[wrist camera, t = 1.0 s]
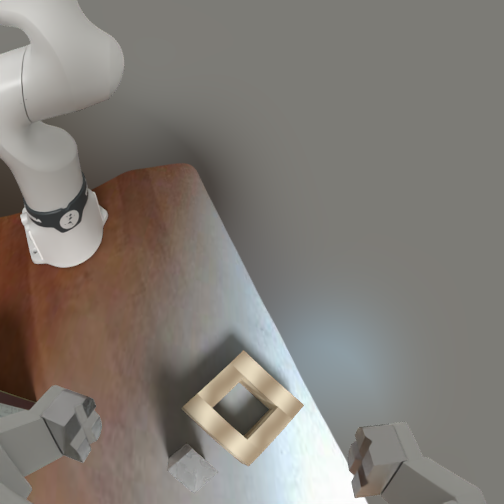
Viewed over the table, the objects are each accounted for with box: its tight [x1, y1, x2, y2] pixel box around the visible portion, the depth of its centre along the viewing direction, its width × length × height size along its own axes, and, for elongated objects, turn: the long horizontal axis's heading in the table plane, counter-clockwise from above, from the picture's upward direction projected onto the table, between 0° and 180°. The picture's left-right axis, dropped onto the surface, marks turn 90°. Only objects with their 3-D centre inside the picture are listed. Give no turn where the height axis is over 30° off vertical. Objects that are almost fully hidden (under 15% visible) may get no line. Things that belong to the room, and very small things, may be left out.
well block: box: [182, 350, 304, 466], centre depth 42 cm, size 13×13×4 cm
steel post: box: [167, 443, 218, 493], centre depth 31 cm, size 4×4×14 cm
